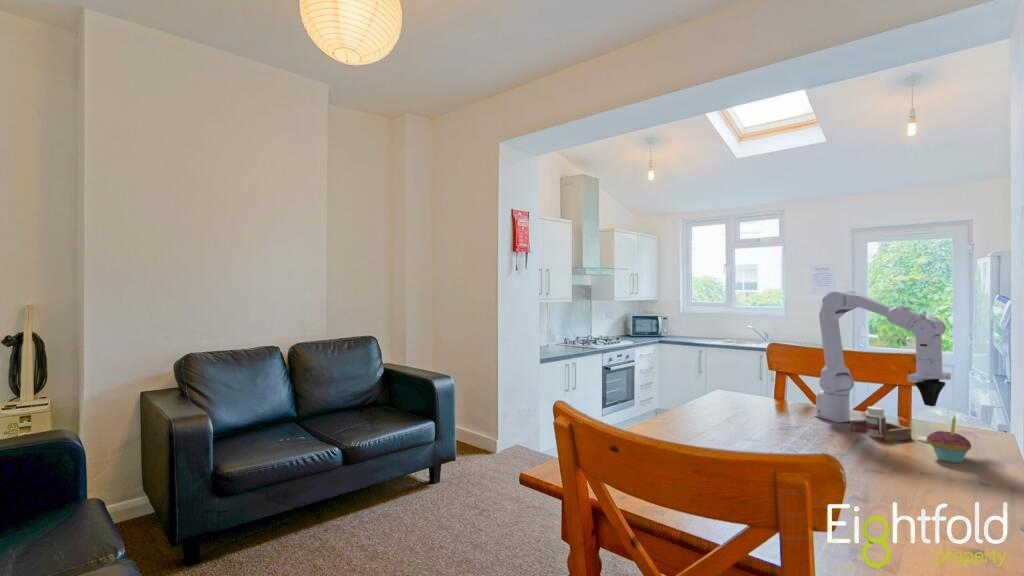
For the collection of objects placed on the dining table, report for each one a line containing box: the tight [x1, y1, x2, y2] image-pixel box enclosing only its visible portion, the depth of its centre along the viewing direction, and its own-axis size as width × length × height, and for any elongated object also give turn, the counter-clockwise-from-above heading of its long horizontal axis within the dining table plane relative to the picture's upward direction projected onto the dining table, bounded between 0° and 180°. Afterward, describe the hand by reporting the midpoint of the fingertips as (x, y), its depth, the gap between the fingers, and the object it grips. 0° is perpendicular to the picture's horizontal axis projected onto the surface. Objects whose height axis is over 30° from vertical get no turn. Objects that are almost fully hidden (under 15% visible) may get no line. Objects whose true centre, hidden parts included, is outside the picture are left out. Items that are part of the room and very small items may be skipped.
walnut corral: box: [850, 418, 912, 443], centre depth 144 cm, size 11×9×3 cm
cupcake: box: [926, 415, 972, 464], centre depth 123 cm, size 9×8×12 cm
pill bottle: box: [865, 405, 887, 438], centre depth 144 cm, size 5×5×8 cm
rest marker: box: [916, 436, 929, 444], centre depth 138 cm, size 6×6×1 cm
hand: (929, 405), depth 138 cm, fingers closed
